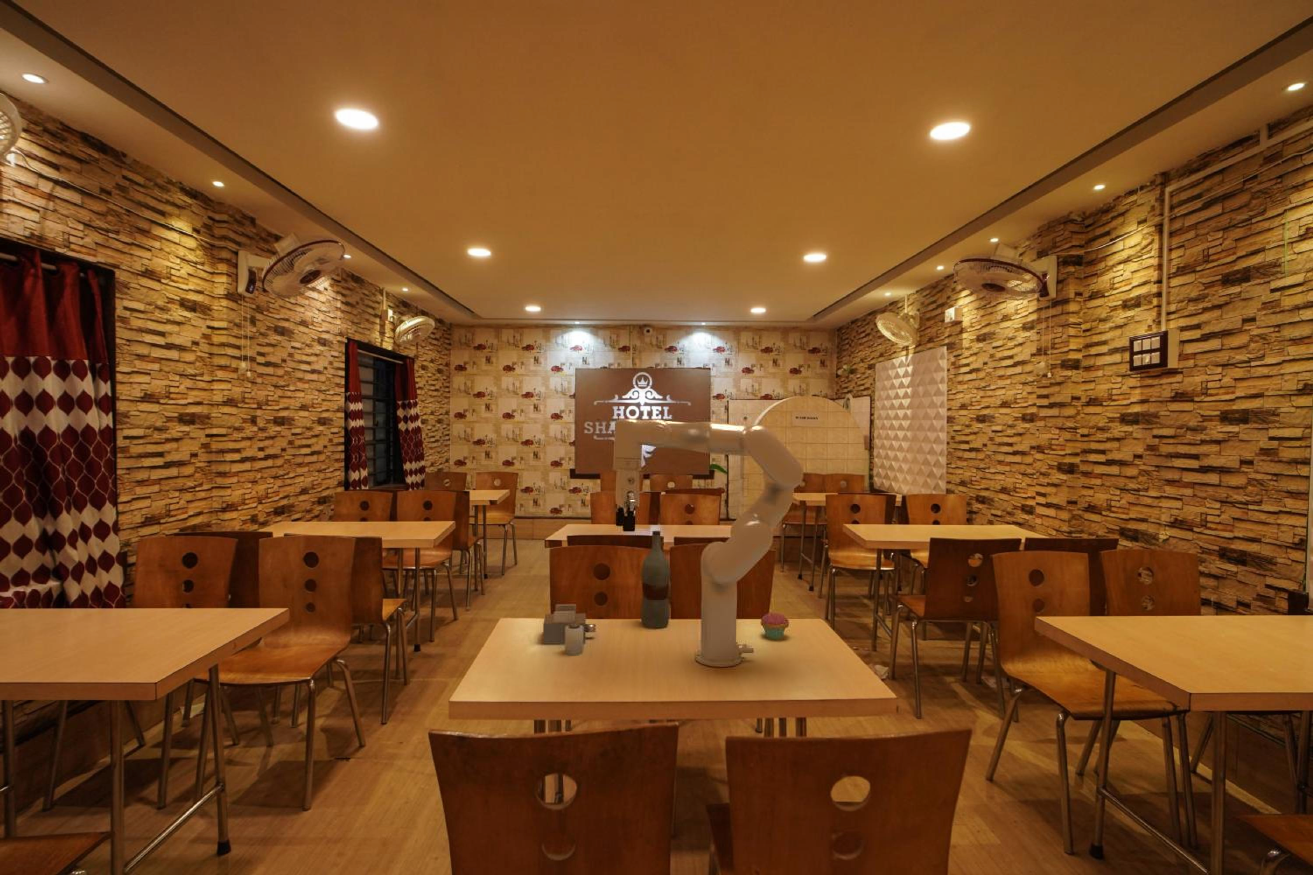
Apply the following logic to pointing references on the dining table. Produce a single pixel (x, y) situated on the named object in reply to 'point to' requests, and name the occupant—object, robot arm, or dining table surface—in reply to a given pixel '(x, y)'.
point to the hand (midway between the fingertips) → (625, 528)
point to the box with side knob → (563, 624)
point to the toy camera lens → (574, 639)
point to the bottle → (655, 587)
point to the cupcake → (774, 624)
